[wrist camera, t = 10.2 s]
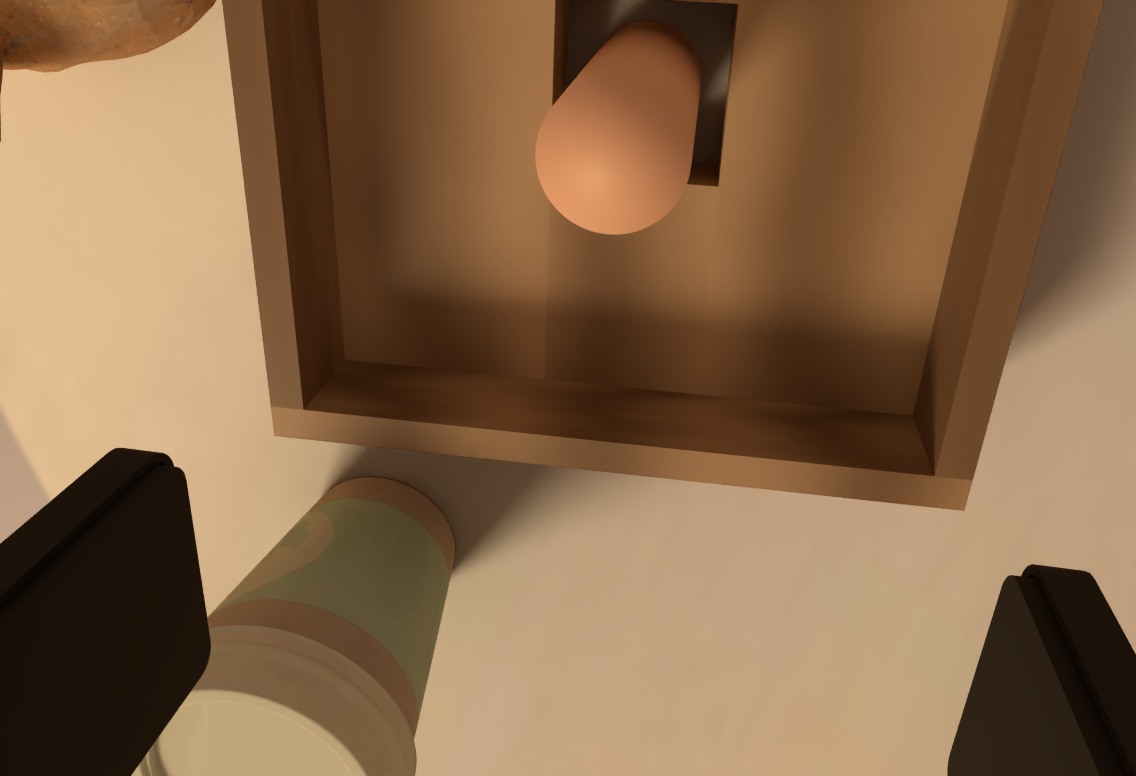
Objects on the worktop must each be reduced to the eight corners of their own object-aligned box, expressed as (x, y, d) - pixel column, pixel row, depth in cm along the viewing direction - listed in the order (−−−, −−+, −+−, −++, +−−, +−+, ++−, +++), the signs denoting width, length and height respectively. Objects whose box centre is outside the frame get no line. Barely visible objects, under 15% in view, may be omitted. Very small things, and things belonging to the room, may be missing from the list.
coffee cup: (376, 403, 35) (224, 623, 24) (534, 558, 37) (459, 822, 26) (237, 520, 38) (50, 757, 28) (389, 655, 40) (270, 923, 30)
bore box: (1100, -334, 23) (1214, -406, 17) (924, 409, 32) (964, 510, 27) (289, -346, 25) (172, -412, 20) (344, 352, 34) (274, 435, 29)
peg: (706, 23, 27) (699, 82, 19) (695, 136, 29) (683, 240, 20) (596, 17, 28) (537, 72, 19) (590, 129, 29) (533, 228, 20)
